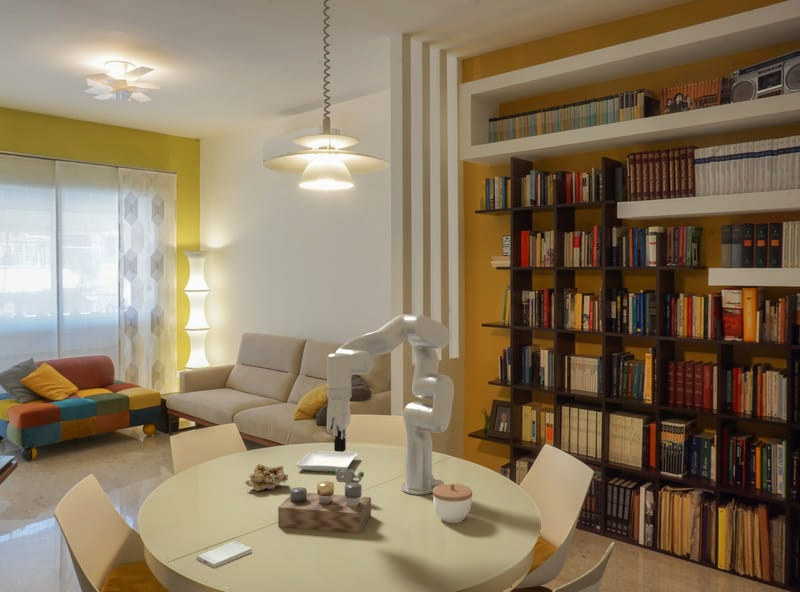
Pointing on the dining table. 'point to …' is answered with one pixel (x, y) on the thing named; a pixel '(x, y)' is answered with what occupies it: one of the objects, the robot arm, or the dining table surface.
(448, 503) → the lidded bowl
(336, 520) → the knob panel
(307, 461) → the salad plate
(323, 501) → the knob middle
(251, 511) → the dining table surface
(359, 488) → the knob
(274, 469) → the mineral formation
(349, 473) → the mechanical component
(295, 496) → the knob
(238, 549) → the hard drive
